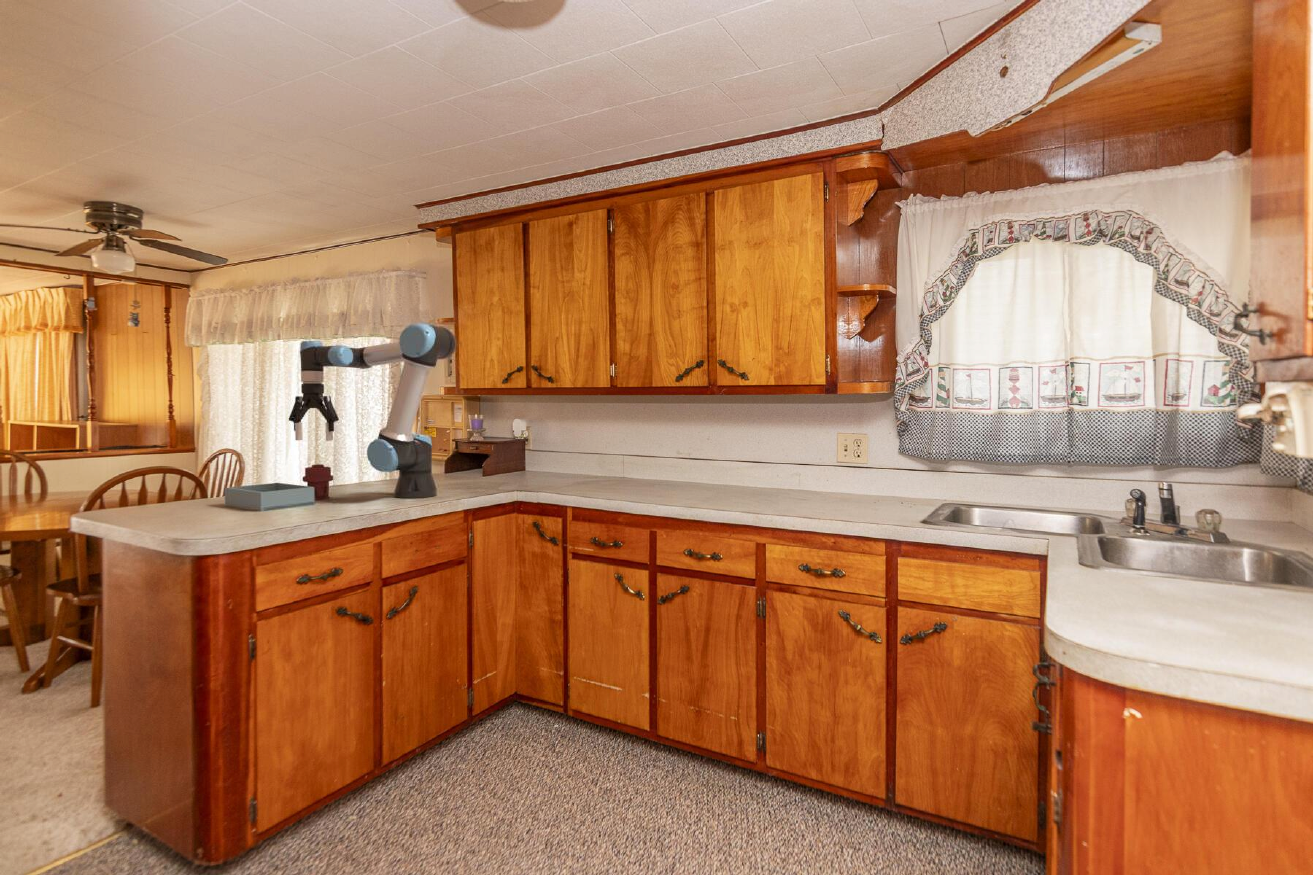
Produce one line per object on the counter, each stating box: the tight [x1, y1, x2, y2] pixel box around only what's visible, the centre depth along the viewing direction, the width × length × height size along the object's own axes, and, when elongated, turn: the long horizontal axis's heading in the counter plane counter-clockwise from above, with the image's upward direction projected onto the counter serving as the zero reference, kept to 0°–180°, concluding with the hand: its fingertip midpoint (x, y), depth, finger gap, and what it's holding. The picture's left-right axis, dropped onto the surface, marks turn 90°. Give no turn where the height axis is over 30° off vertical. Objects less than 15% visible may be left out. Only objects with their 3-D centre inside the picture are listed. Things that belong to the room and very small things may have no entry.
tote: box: [224, 482, 316, 512], centre depth 232 cm, size 22×18×6 cm
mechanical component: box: [302, 463, 334, 501], centre depth 247 cm, size 12×10×10 cm
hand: (314, 440), depth 254 cm, fingers open, 13 cm apart
